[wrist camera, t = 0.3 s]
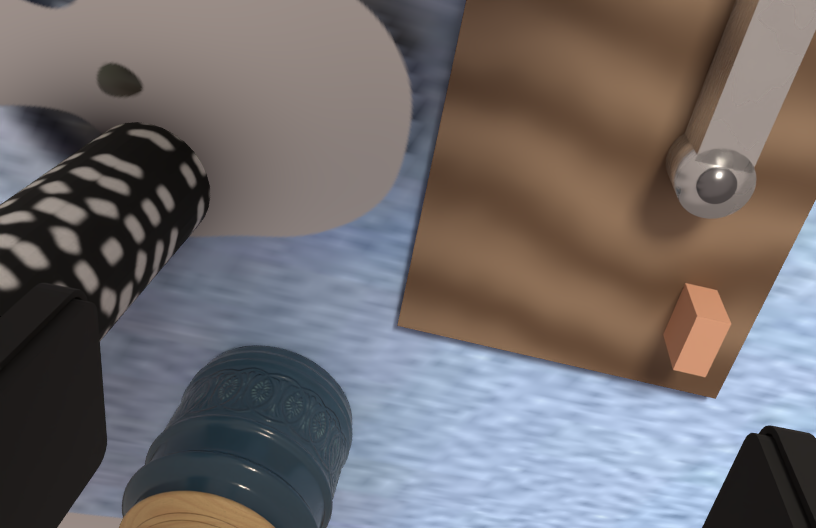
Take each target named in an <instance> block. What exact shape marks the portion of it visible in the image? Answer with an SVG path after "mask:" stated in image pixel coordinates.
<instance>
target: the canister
mask: <svg viewBox="0 0 816 528" xmlns="http://www.w3.org/2000/svg"><path fill="white" fill-rule="evenodd" d="M351 443H352V413H351V409H350V405H349V403H348V400H347V398H346V396H345V394H344V392H343V391H342V389H341V387H340V386H339V385H338V383H337V382H336V381H335V380H334V379H333V378H332V377H331V376H330V375H329V374H328V373H327V372H326V371H325V370H324V369H322V368H321V367H320V366H318V365H317V364H315V363H314V362H312V361H311V360H309V359H307V358H305V357H303V356H301V355H299V354H296V353H294V352H291V351H288V350H285V349H281V348H276V347H270V346H245V347H239V348H235V349H232V350H229V351H226V352H224V353H222V354H220V355H218V356H217V357H215V358H214V359H213V360H211V361H210V362H209V363H208V364H207V365H206V366H205V367H204V368H202V369H201V370H200V371H199V372H198V373H197V374H196V375H195V377H194V378H193V379H192V381H191V382H190V384H189V386H188V387H187V389H186V390H185V393H184V395H183V397H182V400H181V403H180V405H179V407H178V408H177V410H176V412H175V413H174V415H173V417H172V418H171V420H170V421H169V423H168V425H167V426H166V428H165V430H164V431H163V432H162V433H161V434H160V435H159V436H158V437H157V438H156V439H155V441H154V442H153V443H152V445H151V447H150V449H149V451H148V453H147V456H146V460H145V465H144V466H143V467H142V468H140V469H139V470H138V471H137V472H136V473H135V474H134V476H133V477H132V478H131V479H130V481H129V482H128V484H127V486H126V488H125V491H124V495H123V500H122V515H123V519H122V521H121V524H120V526H119V528H326V527H327V525H328V523H329V521H330V518H331V514H332V506H333V501H332V500H333V497H334V493H335V490H336V486H337V483H338V480H339V476H340V473H341V469H342V468H343V466H344V464H345V463H346V460H347V458H348V455H349V450H350V447H351Z"/></svg>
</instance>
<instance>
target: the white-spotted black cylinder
mask: <svg viewBox="0 0 816 528" xmlns="http://www.w3.org/2000/svg"><path fill="white" fill-rule="evenodd" d="M209 201H210V185H209V181H208V178H207V174H206V172H205V170H204V167H203V165H202V163H201V161H200V160H199V158H198V157H197V156H196V154H195V153H194V151H193V150H192V149H191V148H190V147H189V146H188V145H187V144H186V143H185V142H184V141H182V140H181V139H180V138H178V137H177V136H176V135H174V134H173V133H171V132H169V131H167V130H165V129H163V128H161V127H157V126H154V125H151V124H145V123H138V122H136V123H125V124H122V125H118V126H115V127H113V128H111V129H109V130H108V131H106V132H104V133H103V134H102V135H100V136H99V137H97V138H96V139H94V140H93V141H91V142H90V143H89V144H87V145H86V146H84V147H83V148H81V149H80V150H78V151H77V152H76V153H74V154H73V155H71V156H70V157H68V158H67V159H66V160H64V161H63V162H61V163H60V164H58V165H57V166H55V167H54V168H53V169H51V170H50V171H48V172H47V173H45V174H44V175H43V176H41V177H40V178H38V179H37V180H35V181H34V182H32V183H31V184H30V185H28V186H27V187H25V188H24V189H22V190H21V191H19V192H18V193H17V194H15V195H14V196H12V197H11V198H9V199H8V200H7V201H5V202H4V203H2V204H1V205H0V317H1V316H2V315H3V314H4V313H6V312H7V311H8V310H9V309H10V308H11V307H12V306H13V305H14V304H16V303H17V302H18V301H19V300H20V299H21V298H22V297H23V296H25V295H26V294H27V293H28V292H29V291H30V290H31V289H32V288H33V287H35V286H36V285H38V284H39V283H49V284H54V285H60V286H65V287H70V288H75V289H80V290H82V291H84V293H85V294H86V296H87V301H89V302H93V303H94V304H95V305H96V307H97V312H98V326H99V339H100V341H101V339H102V338H103V337H104V336H105V335H106V334H107V332H108V331H109V330H110V329H111V328H112V327H113V325H114V324H115V323H116V322H117V321H118V319H119V318H120V317H121V316H122V315H123V314H124V312H125V311H126V310H127V309H128V308H129V307H130V305H131V304H132V303H133V302H134V301H135V299H136V298H137V297H138V296H139V295H140V294H141V292H142V291H143V290H144V289H145V288H146V286H147V285H148V284H149V283H150V282H151V281H152V279H153V278H154V277H155V276H156V275H157V274H158V272H159V271H160V270H161V269H162V268H163V266H164V265H165V264H166V263H167V262H168V261H169V259H170V258H171V257H172V256H173V255H174V254H175V252H176V251H177V250H178V249H179V248H180V246H181V245H182V244H183V243H184V242H185V241H186V239H187V238H188V237H189V236H190V235H191V233H192V232H193V231H194V230H195V229H196V228H197V226H198V225H199V224H200V222H201V221H202V220H203V218H204V217H205V215H206V212H207V210H208V207H209Z"/></svg>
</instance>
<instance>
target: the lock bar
mask: <svg viewBox="0 0 816 528" xmlns="http://www.w3.org/2000/svg"><path fill="white" fill-rule="evenodd" d="M815 30H816V0H736V2H735V4H734V7H733V9H732V12H731V15H730V17H729V20H728V22H727V25H726V28H725V30H724V33H723V35H722V38H721V41H720V43H719V46H718V48H717V51H716V53H715V56H714V59H713V61H712V64H711V66H710V69H709V72H708V74H707V77H706V79H705V82H704V85H703V87H702V90H701V92H700V95H699V97H698V100H697V103H696V105H695V108H694V110H693V113H692V116H691V118H690V121H689V123H688V126H687V129H686V131H685V133H684V134H682V135H681V136H680V137H678V138H677V139H676V140H675V142H674V143H673V144H672V146H671V147H670V149H669V151H668V154H667V157H666V170H667V173H668V176H669V178H670V181H671V183H672V185H673V188H674V190H675V192H676V195H677V197H678V199H679V201H680V203H681V205H682V206H683V207H684V208H685V209H686V210H687V211H688V212H690V213H691V214H693V215H695V216H698V217H701V218H707V219H715V218H722V217H725V216H728V215H730V214H733V213H734V212H736V211H738V210H739V209H741V208H742V207H743V206H744V205H745V204H746V203H747V202H748V201H749V199H750V198H751V196H752V194H753V192H754V190H755V186H756V172H755V169H754V167H755V165H756V163H757V160H758V158H759V156H760V154H761V151H762V149H763V147H764V145H765V142H766V140H767V138H768V136H769V133H770V131H771V129H772V127H773V125H774V122H775V120H776V118H777V116H778V113H779V111H780V109H781V107H782V104H783V102H784V100H785V98H786V95H787V93H788V91H789V89H790V86H791V84H792V82H793V80H794V77H795V75H796V73H797V71H798V68H799V66H800V64H801V62H802V59H803V57H804V55H805V53H806V51H807V48H808V46H809V44H810V42H811V39H812V37H813V35H814V33H815Z"/></svg>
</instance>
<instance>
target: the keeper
mask: <svg viewBox="0 0 816 528" xmlns="http://www.w3.org/2000/svg"><path fill="white" fill-rule="evenodd" d="M730 326H731V322H730V319H729V317H728V315H727V312H726V310H725V308H724V305H723V303H722V300H721V298H720V296H719V293H718V291H717V290H714V289H710V288H705V287H701V286H696V285H692V284H687V283H685V285H684V288H683V290H682V292H681V295H680V297H679V299H678V301H677V304H676V306H675V308H674V311H673V313H672V315H671V318H670V320H669V322H668V325H667V327H666V329H665V332H664V334H663V336H664V339H665V343H666V346H667V350H668V354H669V357H670V361H671V364H672V368H673V370H676V371H680V372H685V373H689V374H693V375H698V376H702V377H706V375H707V373H708V371H709V369H710V367H711V365H712V363H713V361H714V359H715V357H716V355H717V353H718V351H719V349H720V346H721V344H722V342H723V340H724V338H725V336H726V334H727V332H728V330H729V328H730Z"/></svg>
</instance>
